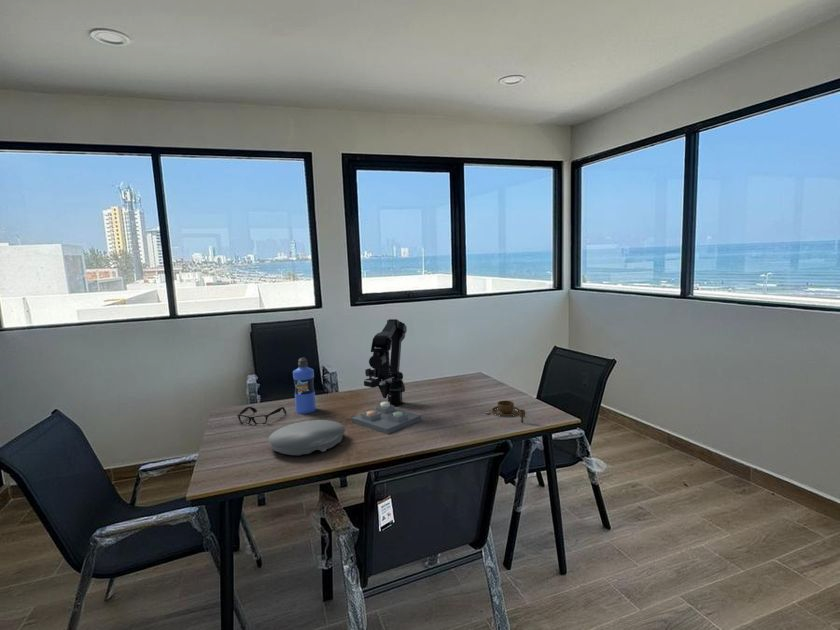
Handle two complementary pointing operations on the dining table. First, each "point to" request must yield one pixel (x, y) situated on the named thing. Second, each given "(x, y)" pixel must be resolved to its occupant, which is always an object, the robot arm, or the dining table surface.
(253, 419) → the glasses
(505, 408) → the place setting
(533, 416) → the dining table surface
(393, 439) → the dining table surface
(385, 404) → the ivory button
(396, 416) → the sage button
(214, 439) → the dining table surface
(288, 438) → the grey low domed part
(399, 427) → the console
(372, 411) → the terracotta button
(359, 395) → the dining table surface
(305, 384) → the water bottle
